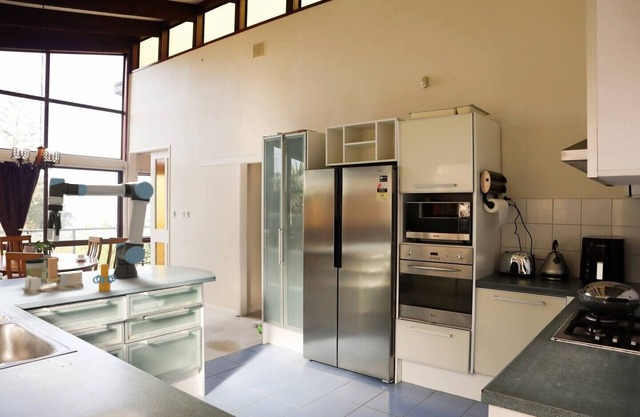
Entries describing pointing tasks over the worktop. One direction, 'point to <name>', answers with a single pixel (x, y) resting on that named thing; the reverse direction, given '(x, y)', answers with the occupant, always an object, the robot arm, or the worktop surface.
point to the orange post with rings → (104, 278)
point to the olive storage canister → (34, 267)
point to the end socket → (32, 283)
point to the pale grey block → (69, 278)
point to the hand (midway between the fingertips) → (52, 240)
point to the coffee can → (45, 267)
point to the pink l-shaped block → (52, 271)
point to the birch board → (52, 288)
